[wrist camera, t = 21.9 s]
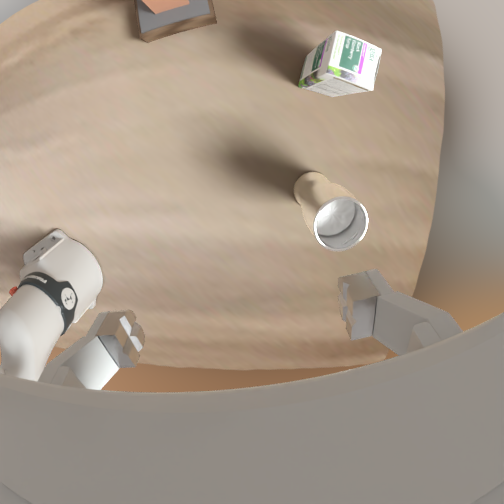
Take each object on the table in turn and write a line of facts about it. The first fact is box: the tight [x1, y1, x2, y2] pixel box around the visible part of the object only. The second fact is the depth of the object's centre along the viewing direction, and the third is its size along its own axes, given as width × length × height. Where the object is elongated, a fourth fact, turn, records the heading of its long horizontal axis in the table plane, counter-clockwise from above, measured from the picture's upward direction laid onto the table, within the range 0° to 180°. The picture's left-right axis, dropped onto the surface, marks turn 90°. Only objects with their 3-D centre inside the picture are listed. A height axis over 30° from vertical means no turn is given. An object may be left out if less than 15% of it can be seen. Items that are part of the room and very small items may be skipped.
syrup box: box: [298, 31, 382, 97], centre depth 28 cm, size 6×6×14 cm
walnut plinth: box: [134, 0, 217, 43], centre depth 26 cm, size 11×11×4 cm
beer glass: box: [294, 172, 368, 251], centre depth 36 cm, size 7×7×15 cm
